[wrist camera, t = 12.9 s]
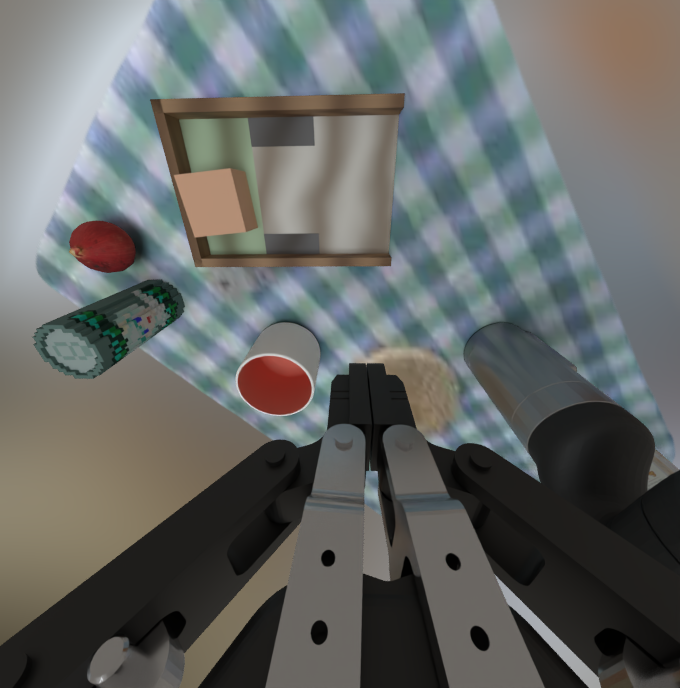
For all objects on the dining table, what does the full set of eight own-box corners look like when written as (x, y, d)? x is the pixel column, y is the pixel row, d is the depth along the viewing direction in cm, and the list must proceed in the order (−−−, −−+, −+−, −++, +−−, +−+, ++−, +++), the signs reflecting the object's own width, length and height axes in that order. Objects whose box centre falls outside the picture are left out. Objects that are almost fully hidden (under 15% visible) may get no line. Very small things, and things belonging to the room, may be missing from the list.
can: (188, 319, 41) (112, 378, 27) (149, 319, 41) (55, 378, 28) (176, 279, 38) (84, 325, 25) (134, 280, 38) (20, 325, 25)
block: (245, 171, 31) (230, 168, 27) (258, 227, 34) (246, 232, 30) (195, 177, 31) (173, 175, 27) (212, 232, 34) (194, 237, 30)
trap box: (399, 103, 28) (404, 93, 25) (387, 260, 36) (390, 265, 33) (168, 108, 28) (150, 99, 26) (206, 261, 36) (195, 266, 34)
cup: (258, 314, 40) (233, 347, 31) (324, 324, 40) (318, 360, 32) (258, 368, 45) (236, 411, 36) (317, 377, 45) (309, 421, 37)
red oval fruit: (157, 262, 36) (112, 278, 29) (119, 267, 37) (65, 284, 30) (136, 215, 34) (81, 220, 27) (95, 222, 34) (30, 229, 27)
